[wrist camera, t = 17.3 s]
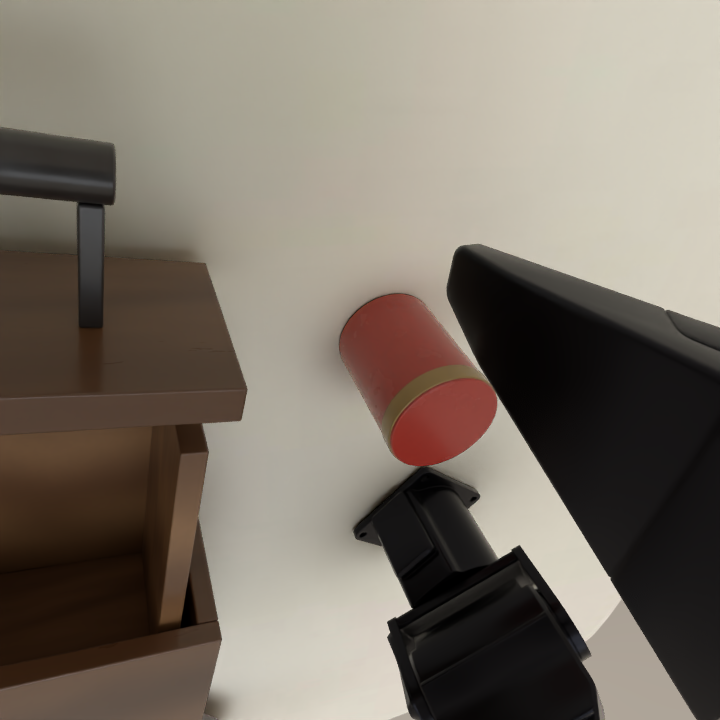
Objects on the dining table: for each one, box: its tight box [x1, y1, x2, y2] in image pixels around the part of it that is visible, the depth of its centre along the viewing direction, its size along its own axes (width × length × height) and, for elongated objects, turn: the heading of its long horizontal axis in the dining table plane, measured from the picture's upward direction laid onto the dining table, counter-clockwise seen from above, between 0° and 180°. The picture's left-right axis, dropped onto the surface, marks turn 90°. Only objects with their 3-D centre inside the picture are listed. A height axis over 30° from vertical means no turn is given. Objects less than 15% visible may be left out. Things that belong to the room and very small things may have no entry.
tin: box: [339, 294, 497, 466], centre depth 24 cm, size 5×5×6 cm
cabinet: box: [0, 517, 222, 720], centre depth 25 cm, size 17×15×9 cm
